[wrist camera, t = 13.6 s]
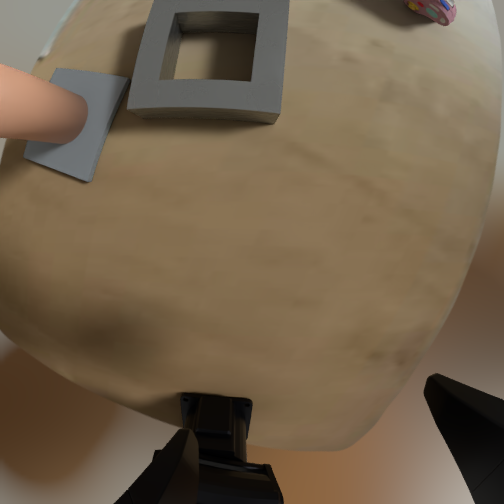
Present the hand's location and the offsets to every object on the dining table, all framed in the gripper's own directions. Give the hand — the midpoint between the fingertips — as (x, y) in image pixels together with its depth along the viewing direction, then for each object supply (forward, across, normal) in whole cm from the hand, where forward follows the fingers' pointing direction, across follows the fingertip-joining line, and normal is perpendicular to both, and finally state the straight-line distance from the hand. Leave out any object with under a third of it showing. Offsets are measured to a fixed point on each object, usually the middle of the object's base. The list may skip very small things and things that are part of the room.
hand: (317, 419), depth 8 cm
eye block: (+12, +2, -17) cm, 21 cm away
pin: (+11, +13, -16) cm, 24 cm away
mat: (+12, +13, -16) cm, 24 cm away
